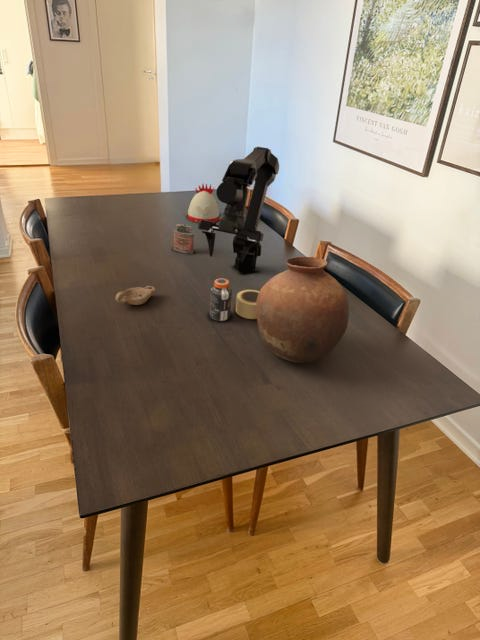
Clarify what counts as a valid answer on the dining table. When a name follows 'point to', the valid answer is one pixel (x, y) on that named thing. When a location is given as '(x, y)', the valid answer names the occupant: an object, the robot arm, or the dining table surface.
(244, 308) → the tape roll
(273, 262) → the dining table surface
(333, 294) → the pottery
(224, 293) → the pill bottle
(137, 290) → the oil lamp
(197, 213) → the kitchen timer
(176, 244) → the red upright container
